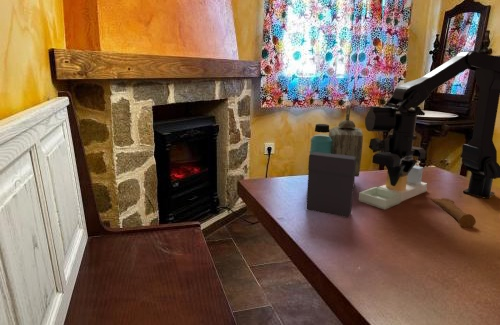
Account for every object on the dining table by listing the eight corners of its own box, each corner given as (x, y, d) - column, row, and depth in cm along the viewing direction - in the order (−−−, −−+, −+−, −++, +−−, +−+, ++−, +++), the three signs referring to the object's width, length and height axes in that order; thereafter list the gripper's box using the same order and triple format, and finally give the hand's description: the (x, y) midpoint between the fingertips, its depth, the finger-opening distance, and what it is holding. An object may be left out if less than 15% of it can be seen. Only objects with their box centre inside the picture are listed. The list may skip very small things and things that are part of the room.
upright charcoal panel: (351, 212, 90) (357, 155, 87) (348, 218, 87) (354, 159, 83) (309, 205, 95) (313, 150, 91) (305, 210, 91) (308, 154, 87)
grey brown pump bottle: (357, 191, 106) (366, 107, 100) (327, 189, 108) (333, 106, 101) (352, 177, 120) (359, 103, 114) (325, 175, 122) (331, 102, 115)
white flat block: (404, 185, 113) (405, 177, 112) (426, 191, 108) (427, 183, 107) (378, 194, 104) (379, 186, 103) (400, 201, 99) (401, 193, 98)
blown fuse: (390, 191, 106) (393, 168, 104) (405, 196, 102) (408, 172, 100) (384, 193, 104) (387, 170, 102) (399, 198, 100) (402, 174, 98)
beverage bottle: (332, 188, 108) (337, 123, 103) (324, 194, 103) (329, 126, 98) (312, 184, 112) (316, 121, 106) (303, 190, 106) (307, 124, 101)
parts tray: (374, 194, 104) (375, 186, 103) (400, 203, 98) (401, 194, 97) (358, 200, 99) (359, 192, 98) (384, 209, 93) (385, 200, 92)
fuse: (405, 186, 111) (408, 164, 109) (419, 190, 108) (423, 167, 106) (400, 188, 109) (403, 165, 107) (415, 192, 106) (418, 169, 104)
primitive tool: (429, 199, 102) (431, 188, 101) (449, 201, 101) (451, 189, 100) (459, 229, 83) (461, 215, 82) (483, 231, 83) (486, 217, 82)
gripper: (394, 124, 110) (388, 172, 114) (358, 130, 98) (353, 183, 102) (430, 129, 101) (422, 181, 105) (395, 136, 90) (388, 194, 94)
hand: (396, 184), depth 102 cm, fingers closed on blown fuse, 3 cm apart
